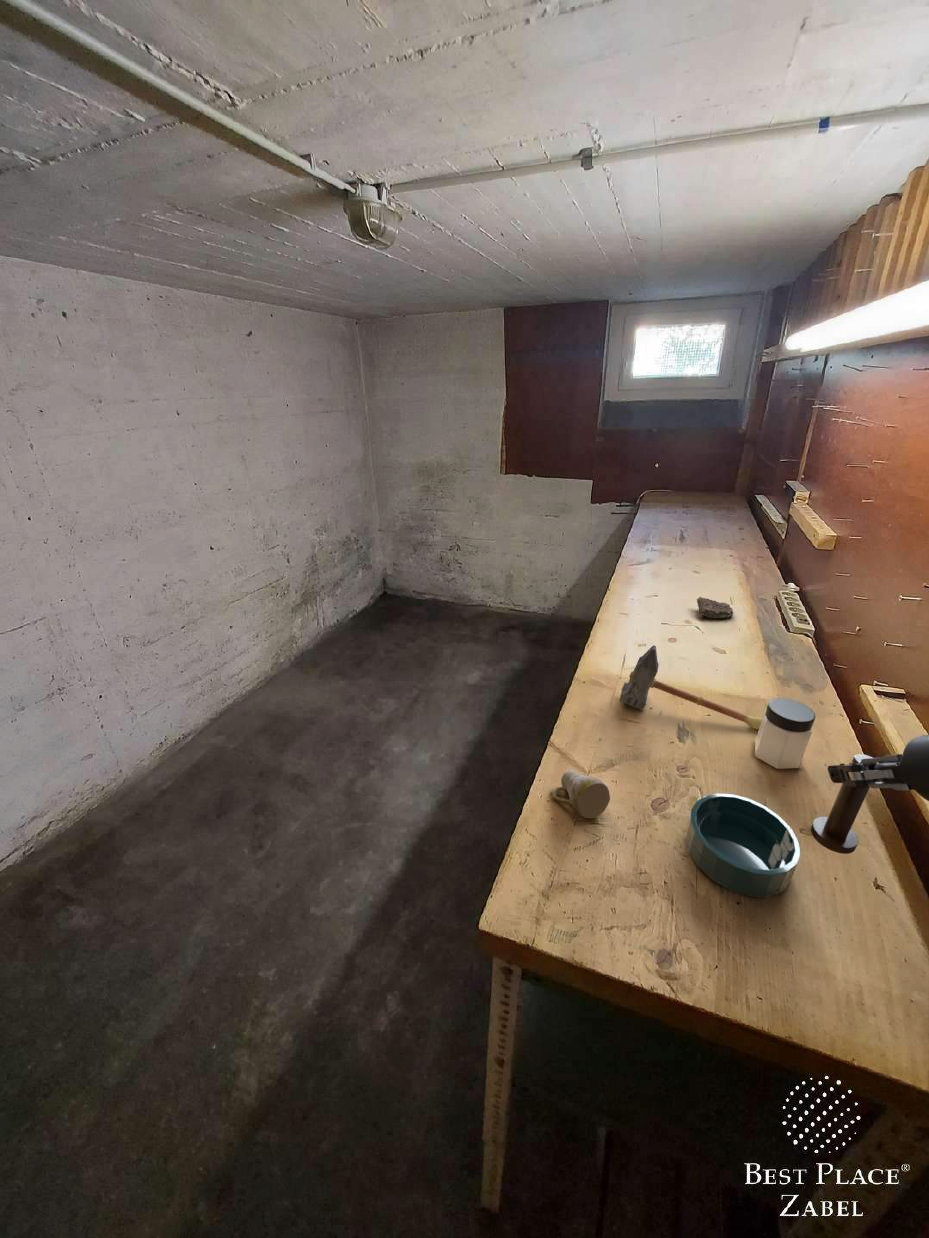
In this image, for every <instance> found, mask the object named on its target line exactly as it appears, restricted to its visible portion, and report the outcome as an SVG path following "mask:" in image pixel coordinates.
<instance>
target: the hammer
mask: <svg viewBox="0 0 929 1238" xmlns="http://www.w3.org/2000/svg"><path fill="white" fill-rule="evenodd" d="M658 670H659V662H658V653H657V646H656V645H654V644H653V645H652V646H651V647H650V648H649V649H648V650H647V651H646V652H645V653H644V654H643V655H642V656H639V658H638V660H637V662H636V665H635V667H634V669H633V671H630V673H629V676H628V677H629V679H628V682H625V681H624V683H623V686H622V688H621V692H620V696H619V702H620V703H622V704H626V705H628V706H631V707H632V708H635V709H637V710H641V711H642V710H644V709H645V707H646V705H647V700H648V695H649V690H650V688H651V689H657V690H659V691H661V692H665V693H667V694H670V695H672V696H675V697H677V698H681V699H683V700H686V701H688V702H691V703H694V704H696V705H697V706H701V707H704V708H705V709H706V708H707V709H709V710H711V711H714V712H717V713H719V714H722V715H724V716H727V717H730V718H733V719H735V720H737V721H740V722H743V723H744V724H747V725H748V726H749V727H750V728H753V729H756V730H758V731H759V728H760V725H761V722H762V719H763V718H761V717H758V716H756V715H748V714H744V713H743V712H742V713H741V712H739V711H738V710H737V711H736V710H734V709H731V708H729V707H726V706H723V705H721V704H718V703H716V702H714V701H710V700H708V699H707V698H706V699H705V698H703V697H702V696H698V695H695V694H693V693H690V692H687V691H685V690H682V689H679V688H677V687H674V686H672V685H669V684H666V683H664V682H661V681H659V680H657V679H656V676H657V674H658Z"/></svg>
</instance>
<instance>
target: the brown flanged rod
mask: <svg viewBox="0 0 929 1238" xmlns="http://www.w3.org/2000/svg"><path fill="white" fill-rule="evenodd" d="M869 758H873V757H872V756H870V755H868V754H865V753H856V754H855V755H853V758H852V760H851V763H853V762H854V764H855V763H860V762H861V760H862V759H869ZM878 763H879V762H878ZM870 788H871V787H869V786H868V787H865V788H860V787H851V786H850V787H847V786H843V784H842V783H841V786H840V788H839V791H838V793H837V794H836V797H835V800H834V802H833V805H832V807H831V809H830V812H829V814H828V816H818V817H815V819H813V821H812V824H811V826H810V834H811V835H812V837H813V838H814V840H815V841H816V842H817V843H818V844H819V845H821V846H822V847H824V848H826V849H827V850H830V851H831V852H835V853H838V854H842V855H843V854H844V855H849V854H852V853H854V852H855V851H856V849H857V848H858V845H859V841H860V840H859V836H858V835H857V833H856V832H855V831H854V830H853V828H852V827H853V825H854V822H855V820H856V818H857V817H858V814H859V812H860V810H861V808H862V805H863V803H864V801H865V799H866V797H867V794H868V793H869V790H870Z"/></svg>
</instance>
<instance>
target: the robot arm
mask: <svg viewBox="0 0 929 1238" xmlns="http://www.w3.org/2000/svg"><path fill="white" fill-rule="evenodd" d="M902 751H903V752H902V753H896V754H895V753H894V754H885V755H882V756H881V757H872V758H869V759H862V760H861V762H860V763H855V764H854V762H853V763H852V762H848V763H839V764H833V765H828V766H827V773H828V775H829V778H830V781H831V782H832V783H833V784H841V785H842V784H843V786H847V787H850V786H851V787H860V788H865V787H868V786H869V787H870V788H871V789H893V790H894V791H897V792H898V791H899V792H900V791H903V792H904V791H915V792H916V793H917V794H918V795H919V796H920V797H922V799H924V800H926V801H927V802H929V734H922V735H919V736H916V737H914V738H913V739H911V740H909V742H907V743H906V745H905V746H904V749H903V750H902ZM878 762H879V763H878Z"/></svg>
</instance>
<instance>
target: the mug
mask: <svg viewBox="0 0 929 1238" xmlns="http://www.w3.org/2000/svg"><path fill="white" fill-rule="evenodd" d="M560 782H561V786H558V787H556V788H554V790H553V791H552V797H553V800H555V801H557V802H559V803H562V804H566V805H567V806H570V807H571V808H573V809H574V810H575V811H576V812H577V813H578V814H580V815H581V816H582V817H583V818H588V819H594V818H598V817H599V816H601V815H602V814H603V813H604V812H605V810H606V809H607V808H608V805H609V804H610V801H611V793H610V790H609V787H608V786H607V785H606V784H605V782H604V781H602V780H601V779H599V778H597V777H595V776H592V775H583V774H580V773H579V772H578V771H577V770H575V769H569V770H566V771H565V772H564V773H563V774H562V776H561V778H560ZM561 791H563V792H567V794H568V797H569V799H566V798H561V797H558V796H557V794H558V793H560V792H561Z"/></svg>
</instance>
